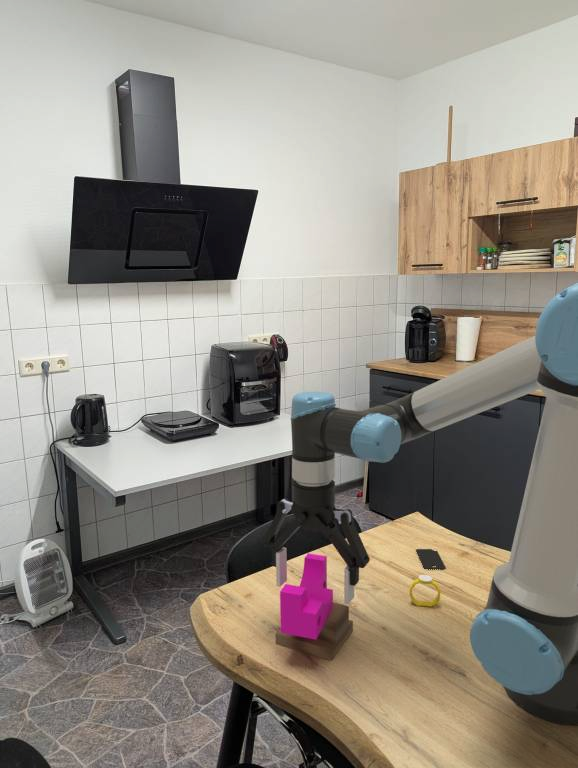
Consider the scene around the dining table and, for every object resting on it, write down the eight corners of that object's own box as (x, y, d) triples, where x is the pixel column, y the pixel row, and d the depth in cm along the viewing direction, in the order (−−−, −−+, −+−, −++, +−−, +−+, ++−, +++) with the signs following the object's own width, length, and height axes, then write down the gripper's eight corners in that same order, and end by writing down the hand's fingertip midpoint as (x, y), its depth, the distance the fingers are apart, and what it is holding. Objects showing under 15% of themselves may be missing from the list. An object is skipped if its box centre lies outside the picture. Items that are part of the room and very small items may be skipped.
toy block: (316, 639, 97) (315, 597, 96) (280, 632, 99) (280, 591, 98) (339, 594, 111) (339, 557, 110) (308, 589, 113) (307, 553, 112)
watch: (438, 603, 119) (441, 576, 118) (439, 611, 116) (442, 583, 115) (408, 599, 120) (411, 572, 119) (408, 606, 118) (411, 579, 116)
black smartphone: (436, 549, 142) (446, 568, 132) (436, 551, 142) (446, 571, 133) (415, 549, 142) (424, 568, 133) (415, 551, 143) (424, 571, 133)
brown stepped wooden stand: (352, 630, 110) (352, 601, 109) (331, 660, 101) (331, 628, 100) (300, 616, 115) (300, 587, 114) (275, 643, 106) (275, 613, 105)
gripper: (388, 483, 100) (387, 597, 104) (263, 464, 112) (265, 568, 115) (373, 497, 94) (372, 619, 97) (242, 476, 105) (245, 585, 109)
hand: (314, 591), depth 106 cm, fingers open, 13 cm apart
